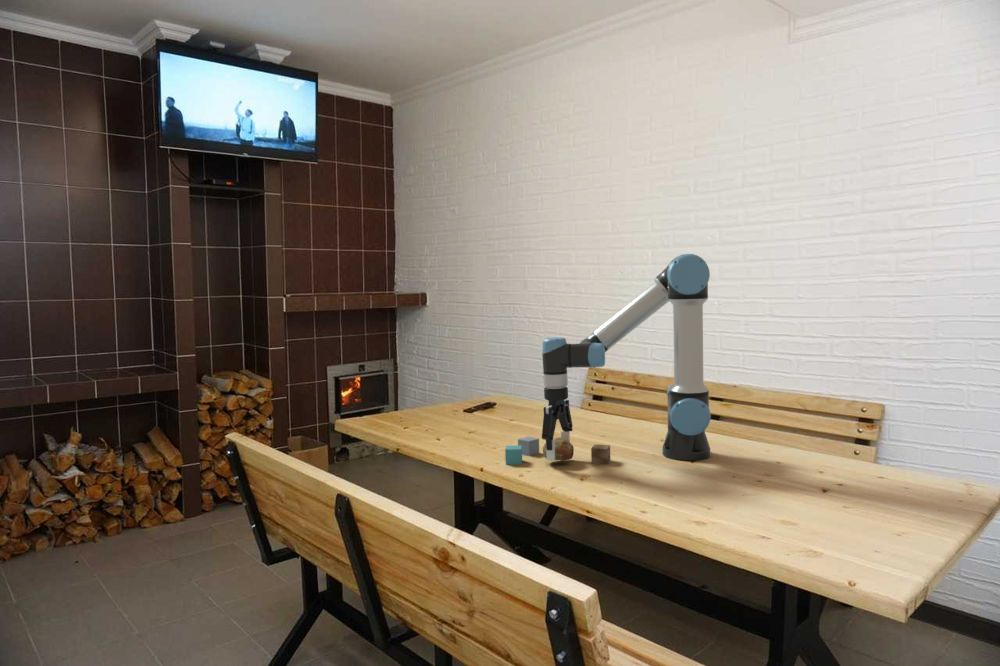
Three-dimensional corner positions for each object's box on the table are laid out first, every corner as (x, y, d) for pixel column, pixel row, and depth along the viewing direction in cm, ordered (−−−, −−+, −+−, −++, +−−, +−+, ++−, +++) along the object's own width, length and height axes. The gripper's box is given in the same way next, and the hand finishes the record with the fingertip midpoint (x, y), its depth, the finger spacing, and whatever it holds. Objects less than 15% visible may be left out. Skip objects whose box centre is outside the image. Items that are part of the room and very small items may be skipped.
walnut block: (610, 460, 226) (610, 445, 225) (607, 464, 221) (606, 449, 221) (595, 459, 228) (594, 444, 227) (591, 463, 223) (591, 448, 222)
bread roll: (540, 469, 224) (535, 449, 220) (551, 448, 232) (546, 429, 228) (570, 471, 219) (565, 451, 216) (580, 450, 227) (575, 430, 223)
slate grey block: (539, 453, 237) (538, 438, 237) (529, 456, 234) (528, 441, 233) (528, 450, 241) (528, 436, 240) (518, 453, 237) (517, 439, 237)
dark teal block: (522, 460, 229) (521, 445, 228) (521, 464, 224) (520, 449, 223) (507, 460, 229) (506, 445, 229) (505, 464, 224) (505, 449, 224)
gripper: (560, 380, 234) (563, 446, 236) (528, 392, 214) (531, 463, 216) (581, 381, 230) (583, 447, 232) (550, 393, 210) (553, 466, 212)
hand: (558, 455), depth 224 cm, fingers closed on bread roll, 10 cm apart
